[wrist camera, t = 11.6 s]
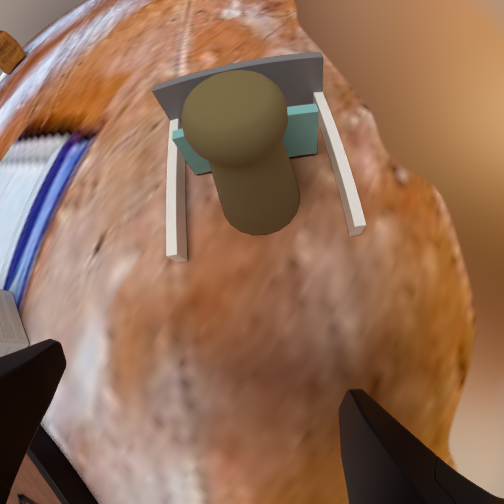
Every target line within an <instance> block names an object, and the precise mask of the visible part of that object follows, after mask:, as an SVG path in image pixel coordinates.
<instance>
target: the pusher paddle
mask: <svg viewBox="0 0 504 504" xmlns="http://www.w3.org/2000/svg"><path fill="white" fill-rule="evenodd" d="M287 112H288V124H287V128H286V131H285V133H284V136H283V138H282V139H283V142H284V145H285V148H286V151H287V154H288V157H294V156H301V155H308V154H316V153H317V138H318V116H319V111H318V108H317V106H316V104H307V105H299V106H291V107H287ZM172 140H173V142H174V143H175V145H176V146H177V148H178V149H179V151H180V152H181V154H182V155H183V157H184V158H185V160H186V161H187V163H188V164H189V166H190V168H191V169H192V171H193V172H194V174H195V175H196V174H201V173H206V172H210V171H211V168H210V164H209V161H208V160H206V159H204V158H202V157H201V156H200V155H198V154H197V153H196V152H195V151H194V150H193V148H192V147H191V146H190V144H189V143H188V142H187V140H186V138H185V137H184V133H183V128H182V129H178V130H175V131H173V133H172Z"/></svg>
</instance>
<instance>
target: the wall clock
mask: <svg viewBox="0 0 504 504" xmlns="http://www.w3.org/2000/svg"><path fill="white" fill-rule="evenodd" d="M6 504H98V503H97V501H96V500H95V498H94V497H93V495H92V494H91V492H90V491H89V489H88V488H87V486H86V485H85V483H84V482H83V480H82V479H81V478H80V476H79V475H78V473H77V472H76V471H75V469H74V468H73V467H72V465H71V464H70V462H69V461H68V460H67V458H66V457H65V456H64V454H63V453H62V452H61V450H60V449H59V448H58V446H57V445H56V444H55V442H54V441H53V440H52V439H51V437H50V436H49V435H48V434H47V432H46V431H45V430H44V429H43V428H42V426H41V425H39V427H38V429H37V431H36V433H35V435H34V437H33V439H32V442H31V444H30V446H29V448H28V450H27V452H26V455H25V457H24V459H23V462H22V464H21V466H20V469H19V471H18V474H17V476H16V479H15V481H14V484H13V486H12V489H11V492H10V495H9V498H8V500H7V503H6Z"/></svg>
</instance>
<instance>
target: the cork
mask: <svg viewBox="0 0 504 504" xmlns="http://www.w3.org/2000/svg"><path fill="white" fill-rule="evenodd" d="M181 123H182V128H183V133H184V137H185V138H186V140H187V142H188V143H189V144H190V146H191V147H192V148H193V150H194V151H195V152H196V153H197V154H198V155H200V156H201V157H202V158H204V159H206V160H208V161H209V164H210V168H211V171H212V174H213V178H214V181H215V185H216V188H217V192H218V195H219V198H220V202H221V205H222V209H223V212H224V215H225V217H226V218H227V220H228V221H229V223H230V224H231V225H232V226H233V227H235V228H236V229H238V230H239V231H241V232H244V233H247V234H251V235H267V234H270V233H273V232H276V231H279V230H280V229H282V228H283V227H284V226H286V225H287V224H289V223H290V221H291V220H292V219H293V217H294V216H295V215H296V213H297V210H298V207H299V204H300V191H299V188H298V185H297V181H296V178H295V175H294V172H293V169H292V166H291V163H290V160H289V157H288V154H287V151H286V148H285V145H284V142H283V139H282V138H283V136H284V133H285V131H286V128H287V124H288V112H287V102H286V100H285V98H284V96H283V94H282V92H281V90H280V89H279V87H278V86H277V85H276V84H275V83H274V82H273V81H271V80H270V79H268V78H267V77H266V76H264V75H263V74H260V73H257V72H254V71H247V70H234V71H227V72H223V73H220V74H217V75H214V76H211V77H210V78H208V79H206V80H204V81H203V82H201V83H200V84H198V85H197V86H196V87H195V88H194V89H193V90H192V91H191V92H190V94H189V95H188V97H187V98H186V100H185V102H184V106H183V110H182V114H181Z"/></svg>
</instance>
